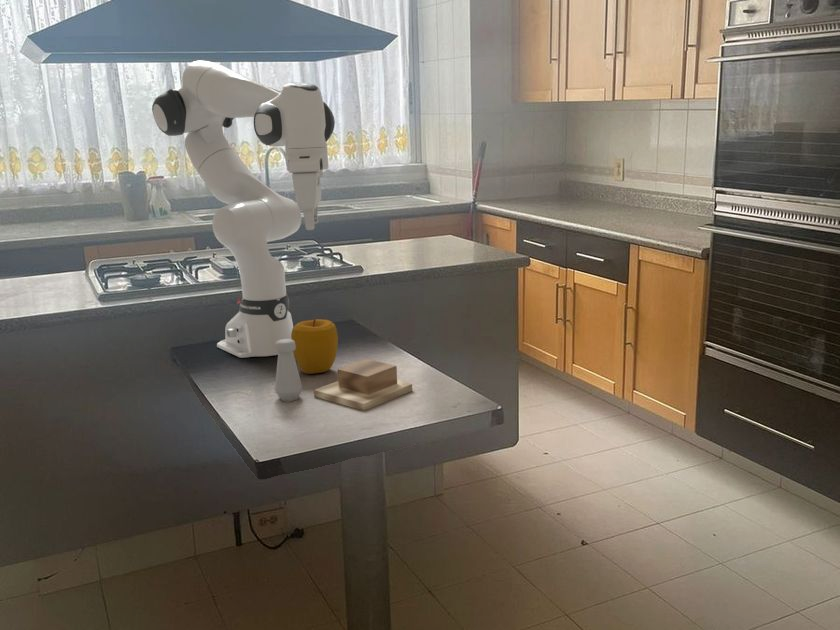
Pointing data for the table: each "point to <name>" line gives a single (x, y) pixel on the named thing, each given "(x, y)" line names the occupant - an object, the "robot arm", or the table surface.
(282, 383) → the salt shaker
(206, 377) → the table surface
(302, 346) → the apple
